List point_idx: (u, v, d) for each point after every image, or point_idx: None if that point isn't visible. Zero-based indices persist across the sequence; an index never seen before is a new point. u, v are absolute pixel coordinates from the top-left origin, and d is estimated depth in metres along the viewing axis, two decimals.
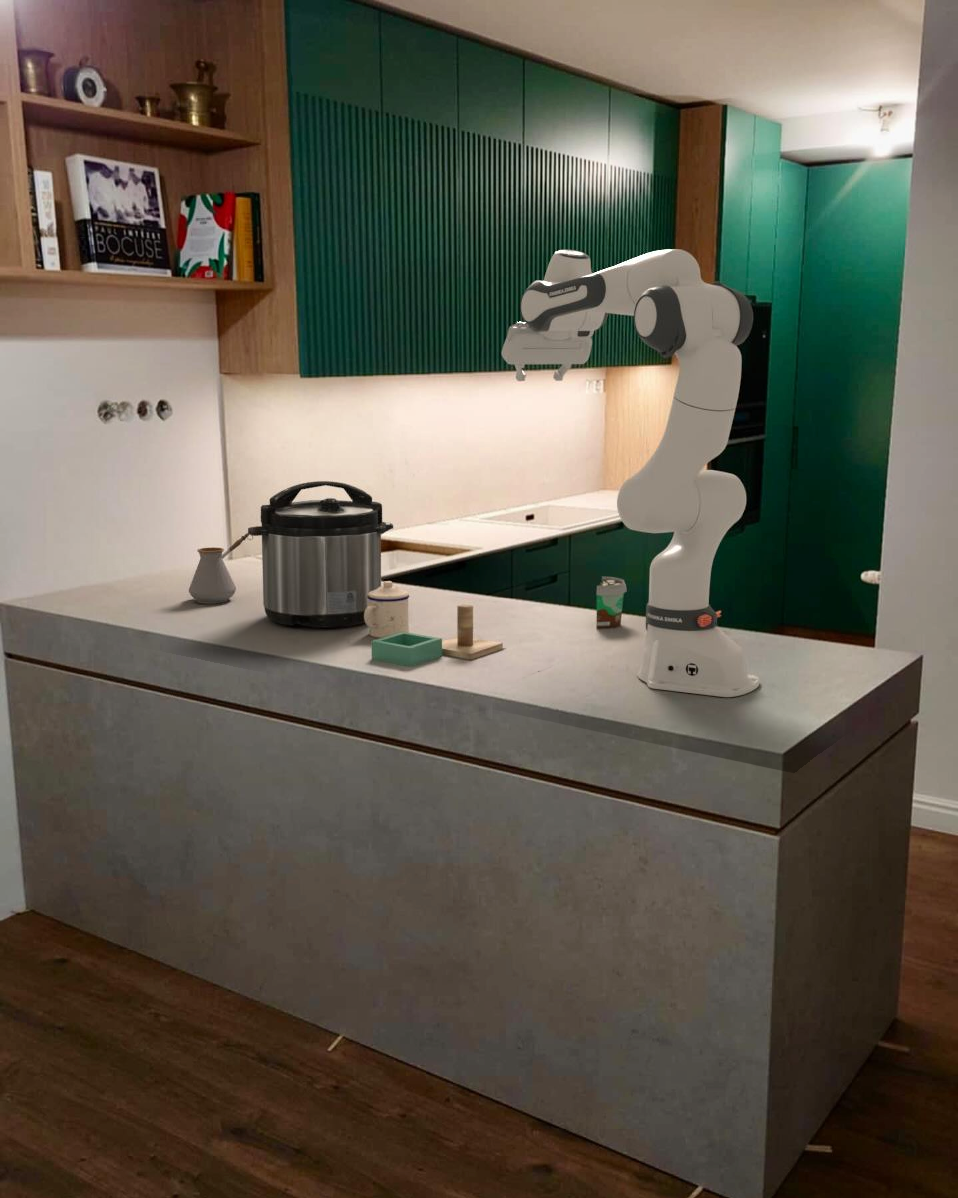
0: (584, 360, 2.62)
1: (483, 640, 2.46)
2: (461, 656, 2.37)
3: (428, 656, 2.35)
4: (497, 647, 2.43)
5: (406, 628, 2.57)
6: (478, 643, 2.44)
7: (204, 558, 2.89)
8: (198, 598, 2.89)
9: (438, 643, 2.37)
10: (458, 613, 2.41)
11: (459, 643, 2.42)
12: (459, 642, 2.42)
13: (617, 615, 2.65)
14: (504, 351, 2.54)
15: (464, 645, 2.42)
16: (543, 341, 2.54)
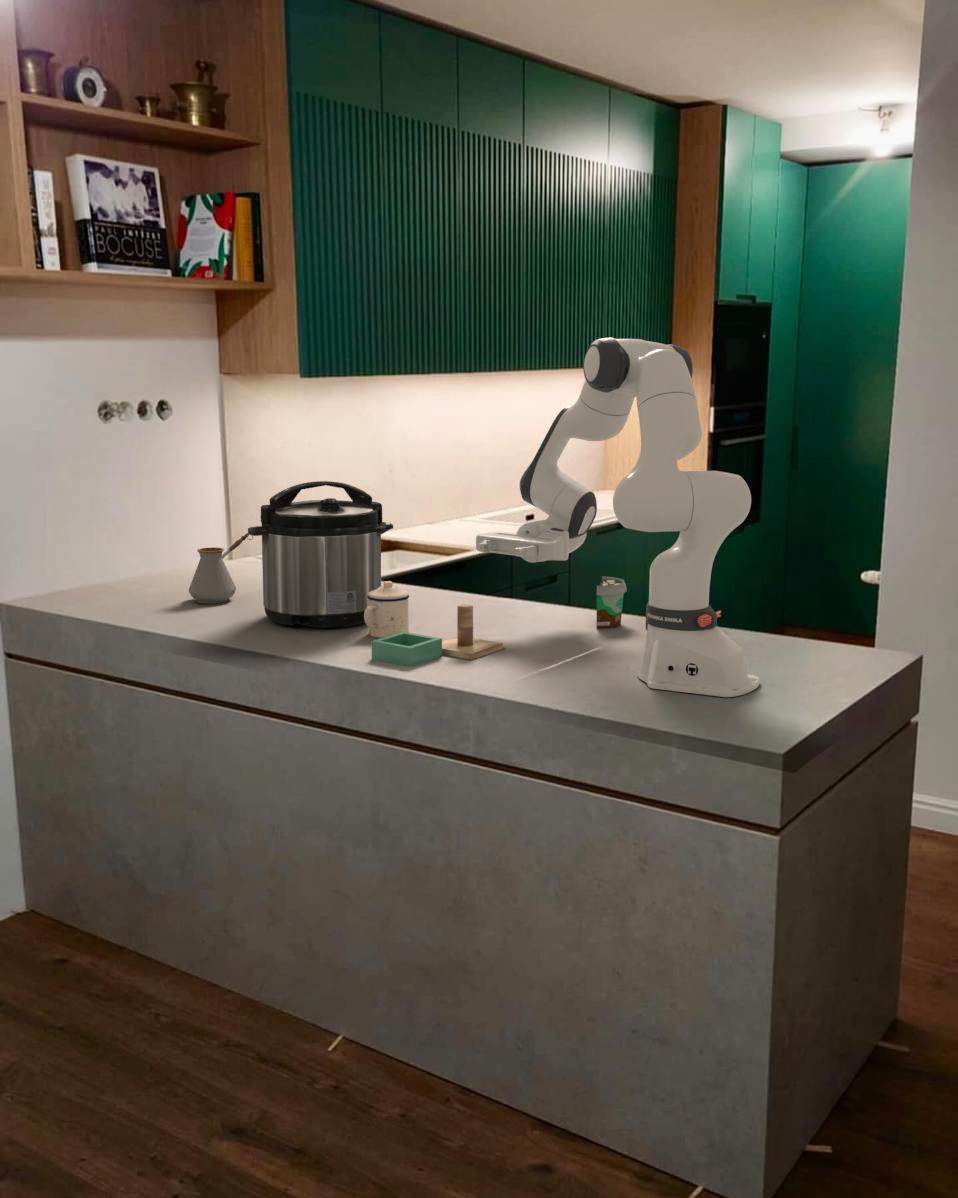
0: (550, 541, 2.48)
1: (483, 640, 2.46)
2: (461, 656, 2.37)
3: (428, 656, 2.35)
4: (497, 647, 2.43)
5: (406, 628, 2.57)
6: (478, 643, 2.44)
7: (204, 558, 2.89)
8: (198, 598, 2.89)
9: (438, 643, 2.37)
10: (458, 613, 2.41)
11: (459, 643, 2.42)
12: (459, 642, 2.42)
13: (617, 615, 2.65)
14: None
15: (464, 645, 2.42)
16: (517, 535, 2.58)
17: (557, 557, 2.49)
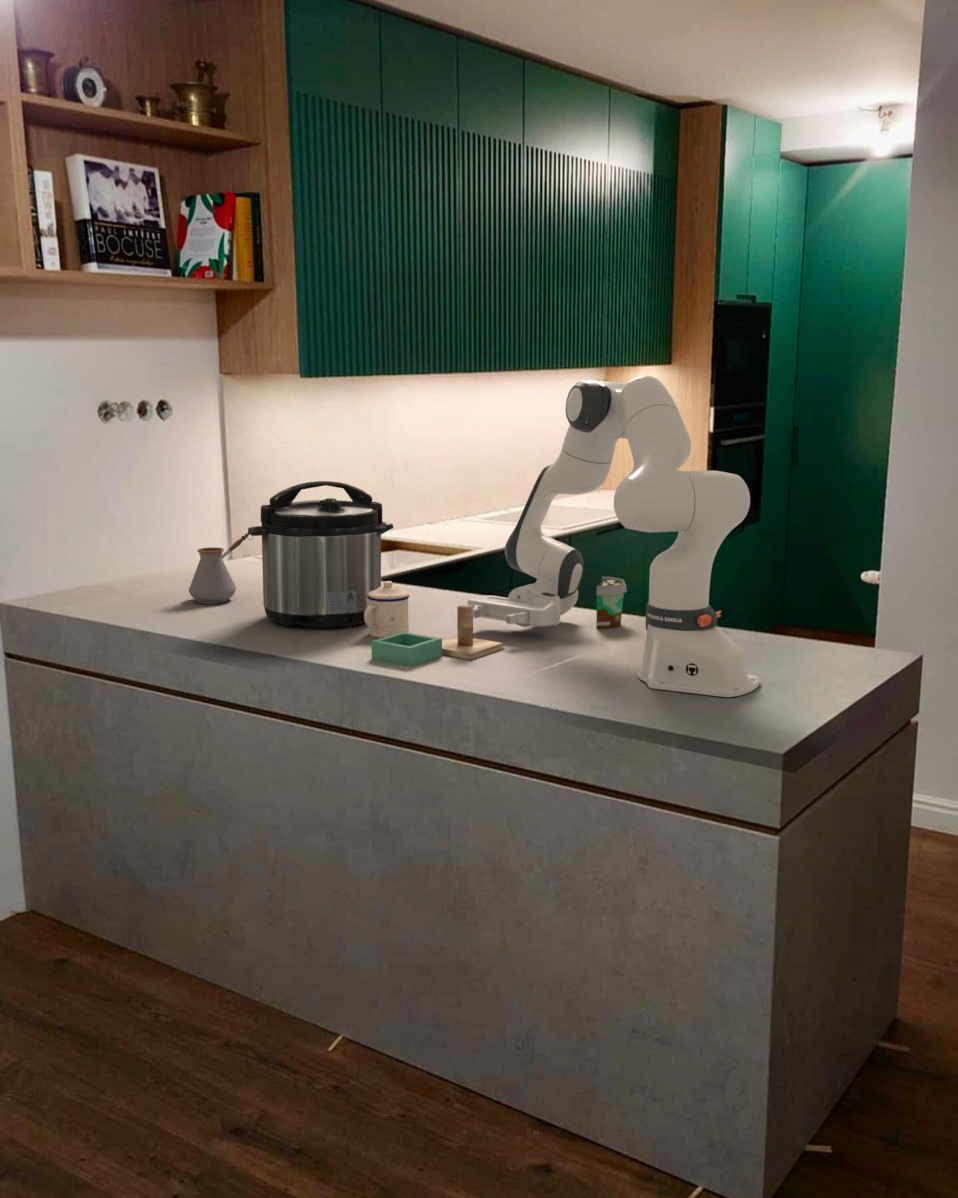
0: (541, 608, 2.48)
1: (483, 640, 2.46)
2: (461, 656, 2.37)
3: (428, 656, 2.35)
4: (497, 647, 2.43)
5: (406, 628, 2.57)
6: (478, 643, 2.44)
7: (204, 558, 2.89)
8: (198, 598, 2.89)
9: (438, 643, 2.37)
10: (458, 613, 2.41)
11: (459, 643, 2.42)
12: (459, 642, 2.42)
13: (617, 615, 2.65)
14: None
15: (464, 645, 2.42)
16: (508, 600, 2.58)
17: (548, 623, 2.49)
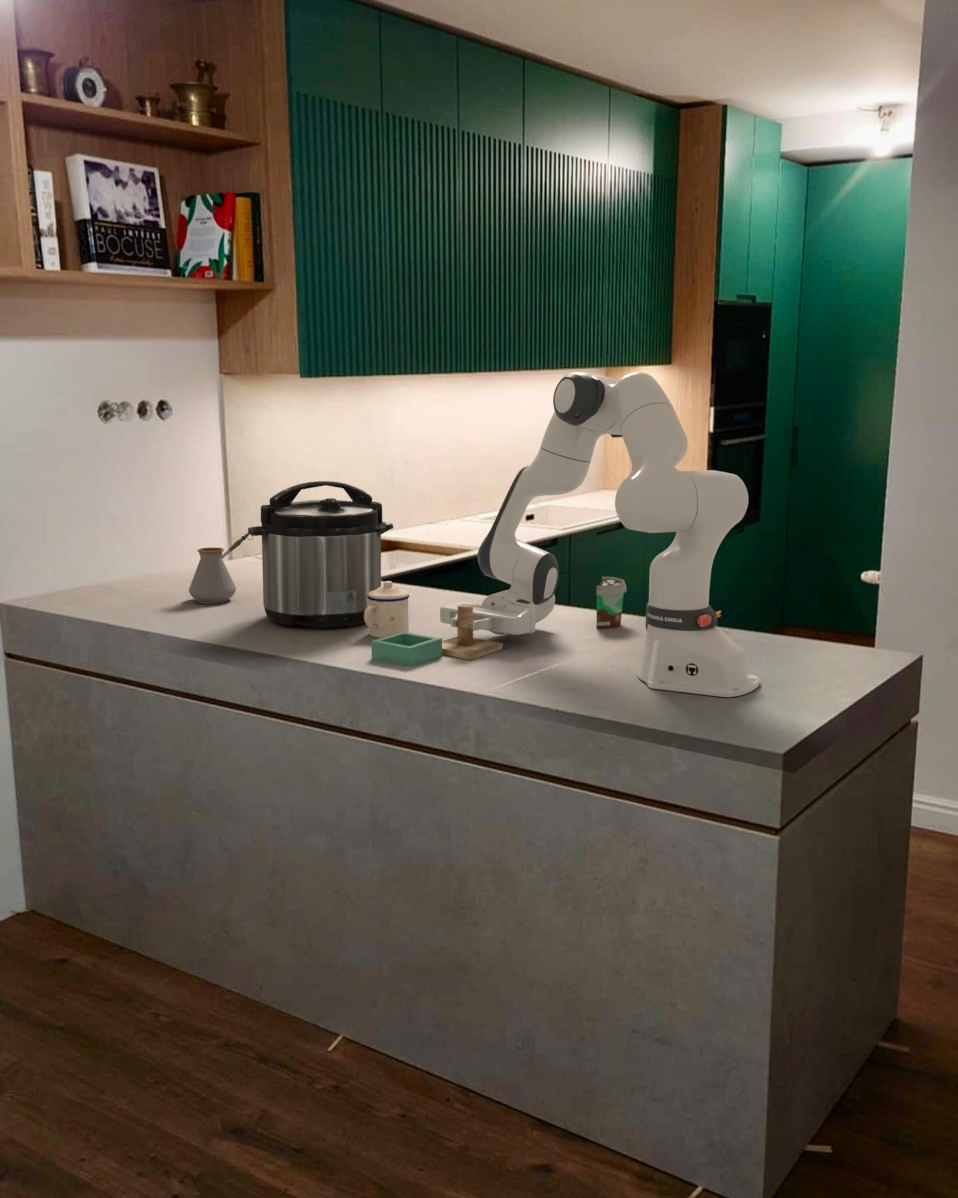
0: (515, 616, 2.41)
1: (483, 640, 2.46)
2: (461, 656, 2.37)
3: (428, 656, 2.35)
4: (497, 647, 2.43)
5: (406, 628, 2.57)
6: (478, 643, 2.44)
7: (204, 558, 2.89)
8: (198, 598, 2.89)
9: (438, 643, 2.37)
10: (458, 613, 2.41)
11: (459, 643, 2.42)
12: (459, 642, 2.42)
13: (617, 615, 2.65)
14: None
15: (464, 645, 2.42)
16: (482, 607, 2.51)
17: (522, 631, 2.42)
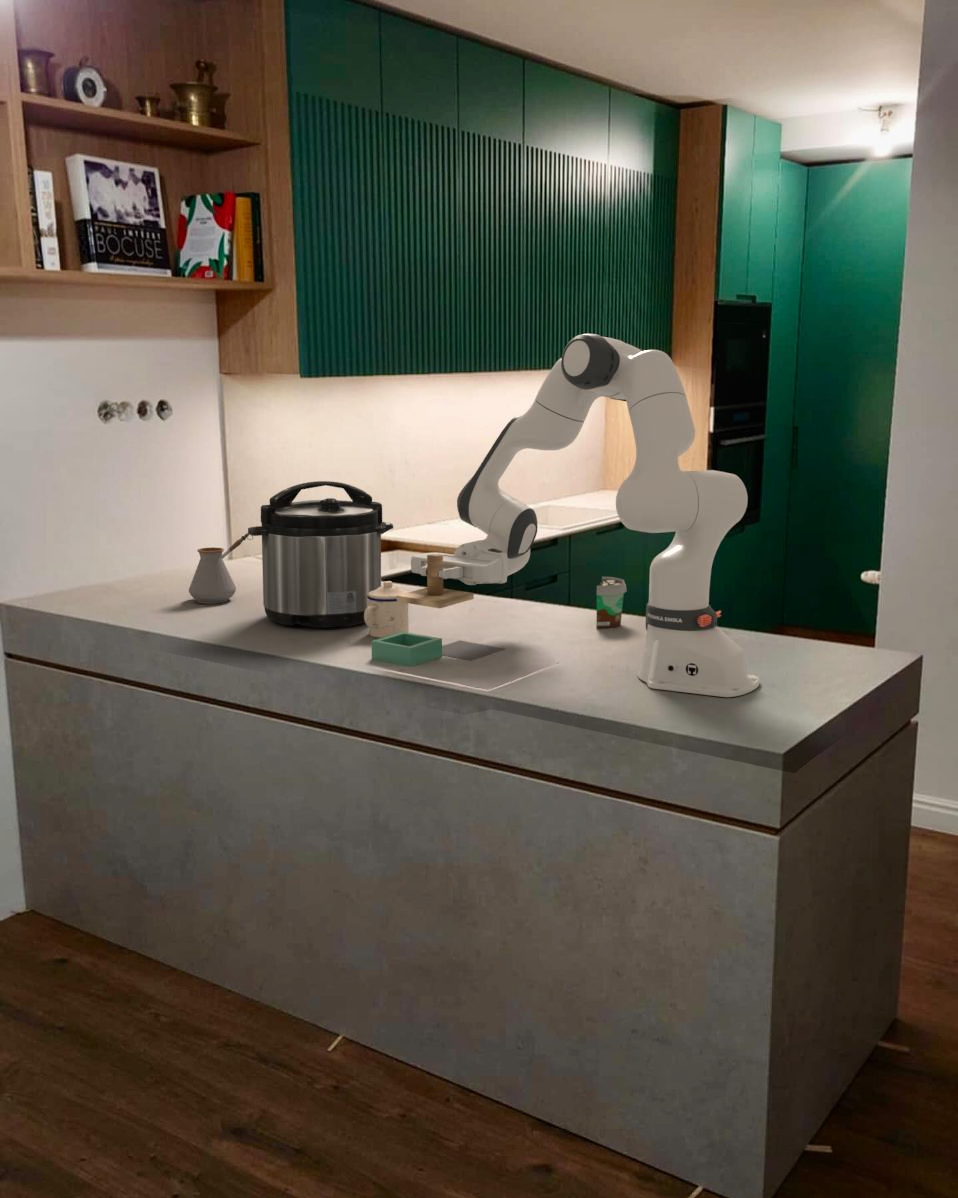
0: (485, 564, 2.36)
1: (454, 590, 2.42)
2: (430, 605, 2.33)
3: (428, 656, 2.35)
4: (467, 597, 2.38)
5: (406, 628, 2.57)
6: (448, 593, 2.39)
7: (204, 558, 2.89)
8: (198, 598, 2.89)
9: (438, 643, 2.37)
10: (428, 562, 2.36)
11: (429, 593, 2.37)
12: (429, 592, 2.37)
13: (617, 615, 2.65)
14: None
15: (434, 595, 2.37)
16: (453, 556, 2.46)
17: (493, 580, 2.37)
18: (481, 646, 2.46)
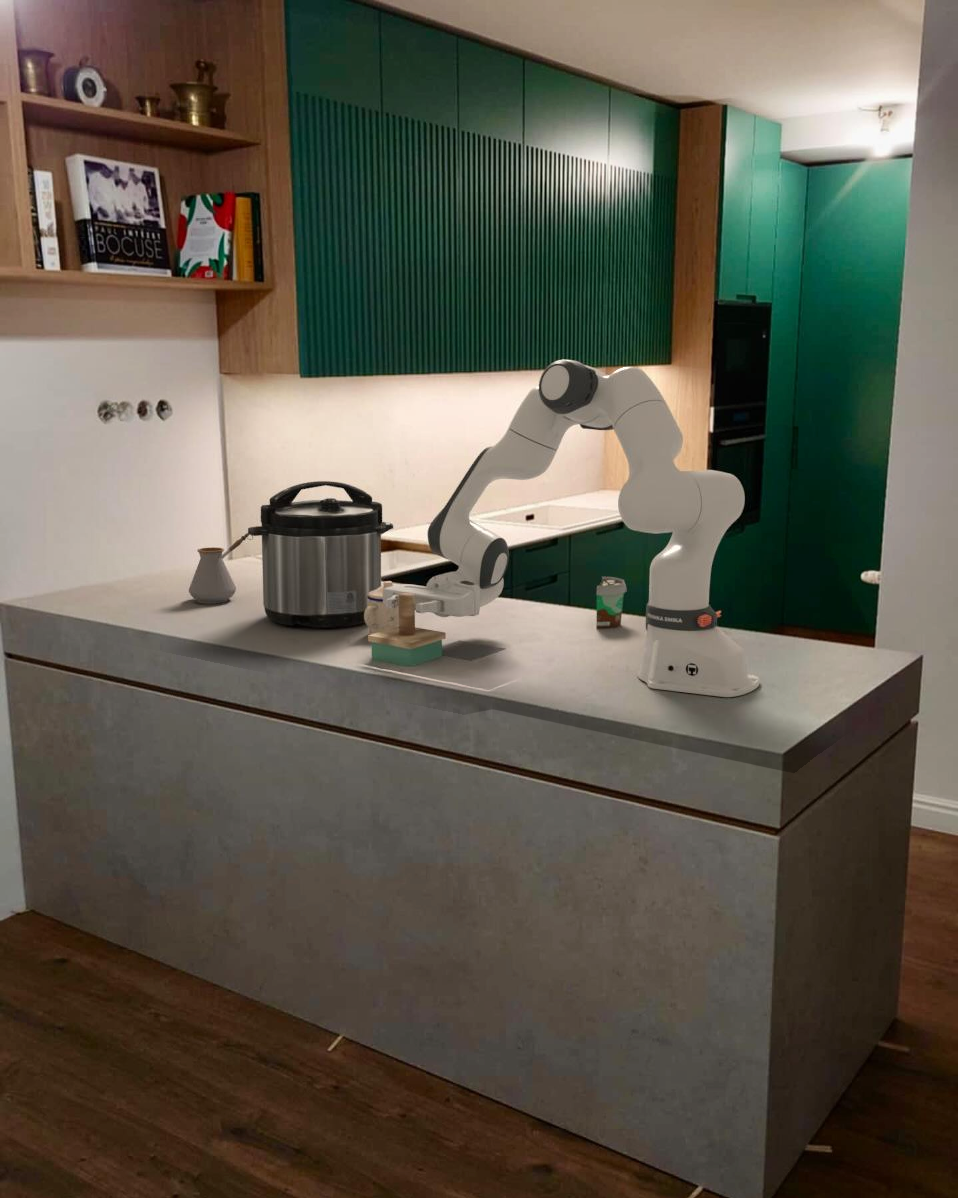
0: (457, 597, 2.34)
1: (426, 629, 2.40)
2: (401, 645, 2.31)
3: (428, 656, 2.35)
4: (439, 636, 2.36)
5: None
6: (420, 632, 2.38)
7: (204, 558, 2.89)
8: (198, 598, 2.89)
9: (438, 643, 2.37)
10: (399, 601, 2.35)
11: (400, 632, 2.36)
12: (400, 631, 2.36)
13: (617, 615, 2.65)
14: None
15: (405, 634, 2.35)
16: (425, 589, 2.44)
17: (465, 613, 2.35)
18: (481, 646, 2.46)
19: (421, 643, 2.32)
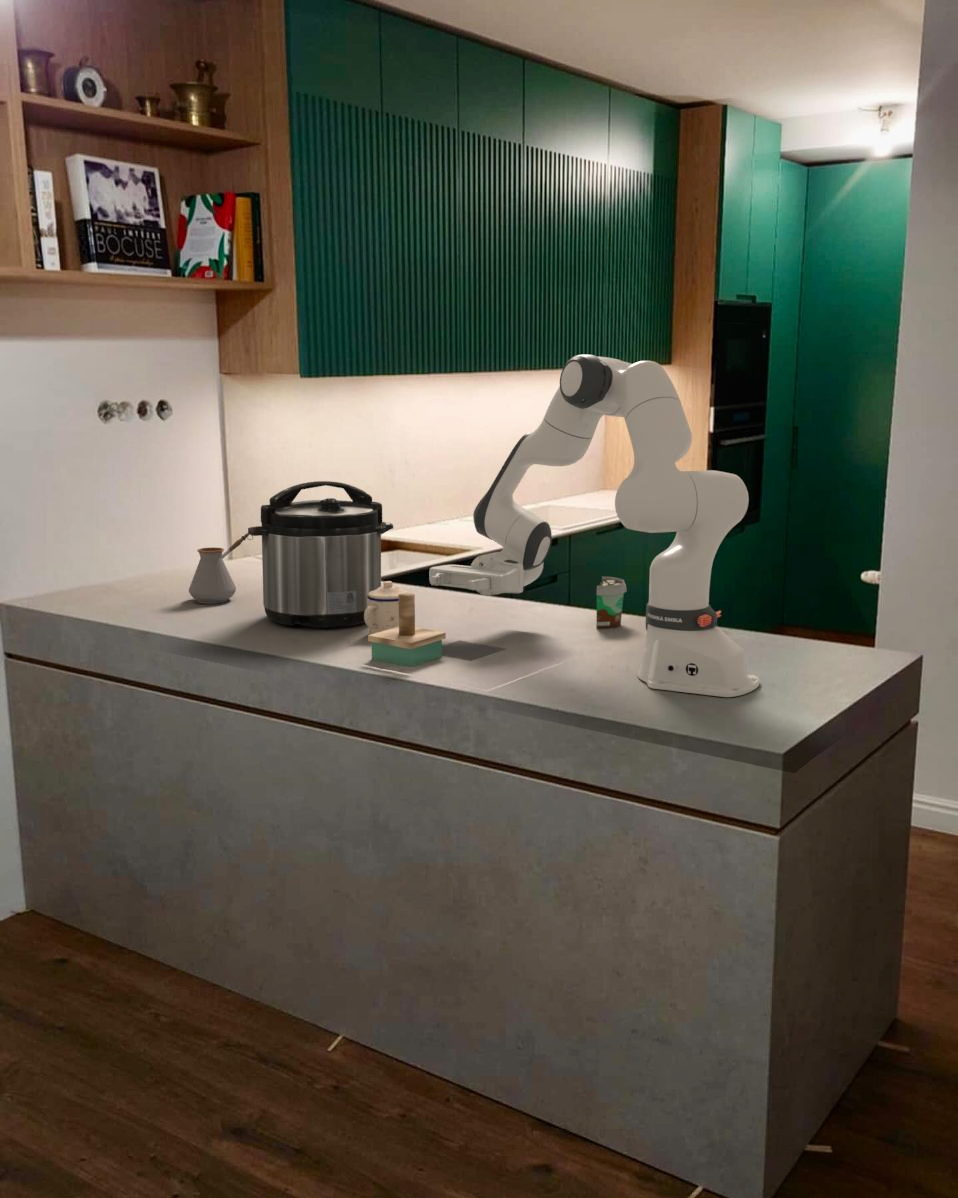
0: (503, 574, 2.44)
1: (426, 629, 2.40)
2: (401, 645, 2.31)
3: (428, 656, 2.35)
4: (439, 636, 2.36)
5: None
6: (420, 632, 2.38)
7: (204, 558, 2.89)
8: (198, 598, 2.89)
9: (438, 643, 2.37)
10: (399, 601, 2.35)
11: (400, 632, 2.36)
12: (400, 631, 2.36)
13: (617, 615, 2.65)
14: None
15: (405, 634, 2.35)
16: (470, 568, 2.54)
17: (510, 590, 2.45)
18: (481, 646, 2.46)
19: (421, 643, 2.32)
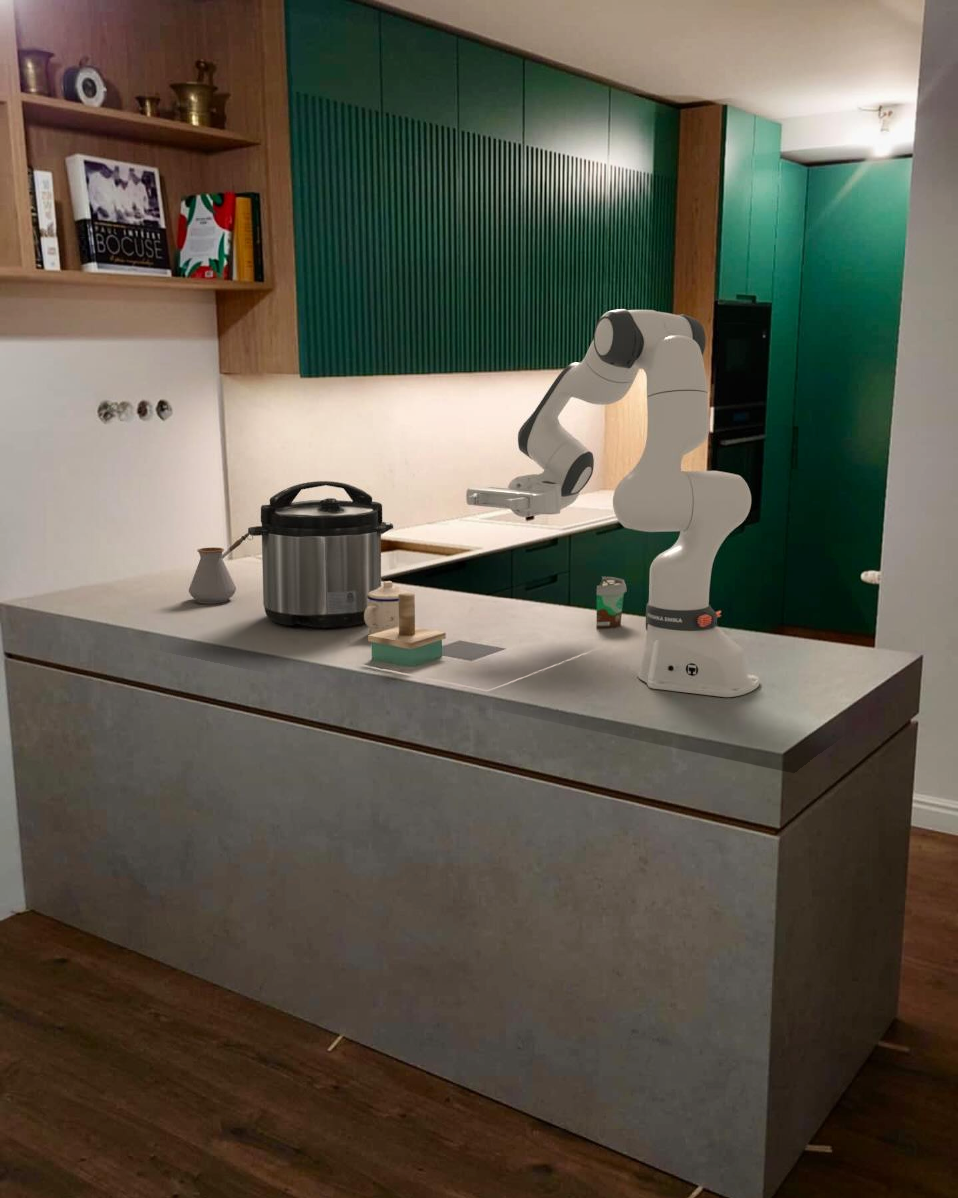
0: (541, 493, 2.43)
1: (426, 629, 2.40)
2: (401, 645, 2.31)
3: (428, 656, 2.35)
4: (439, 636, 2.36)
5: None
6: (420, 632, 2.38)
7: (204, 558, 2.89)
8: (198, 598, 2.89)
9: (438, 643, 2.37)
10: (399, 601, 2.35)
11: (400, 632, 2.36)
12: (400, 631, 2.36)
13: (617, 615, 2.65)
14: None
15: (405, 634, 2.35)
16: (508, 489, 2.53)
17: (549, 509, 2.44)
18: (481, 646, 2.46)
19: (421, 643, 2.32)
